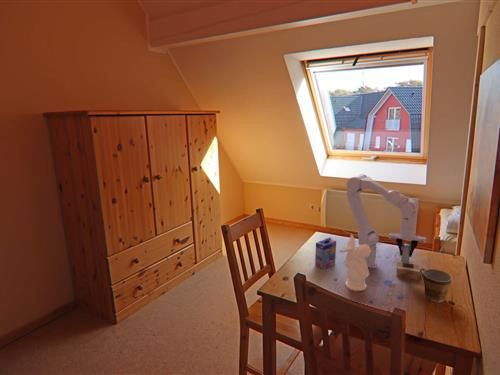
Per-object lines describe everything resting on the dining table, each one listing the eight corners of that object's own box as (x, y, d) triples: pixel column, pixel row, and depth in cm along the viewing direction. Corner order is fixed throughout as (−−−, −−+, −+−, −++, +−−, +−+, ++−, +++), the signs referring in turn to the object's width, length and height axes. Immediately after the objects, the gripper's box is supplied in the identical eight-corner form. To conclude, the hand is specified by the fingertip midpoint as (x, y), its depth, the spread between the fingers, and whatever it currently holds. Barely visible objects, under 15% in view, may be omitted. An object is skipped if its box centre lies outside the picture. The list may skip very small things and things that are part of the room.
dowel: (400, 262, 141) (402, 245, 140) (401, 259, 144) (402, 243, 142) (408, 264, 140) (410, 247, 138) (409, 261, 143) (410, 244, 141)
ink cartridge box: (323, 269, 151) (324, 241, 148) (314, 265, 156) (314, 238, 152) (336, 263, 157) (337, 236, 154) (327, 259, 162) (327, 233, 158)
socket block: (396, 276, 143) (397, 268, 142) (396, 267, 151) (397, 259, 150) (419, 280, 140) (419, 271, 139) (417, 270, 148) (418, 262, 147)
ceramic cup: (455, 302, 123) (458, 278, 121) (434, 307, 120) (437, 283, 118) (428, 285, 135) (430, 264, 133) (409, 289, 132) (411, 267, 130)
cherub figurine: (372, 291, 132) (375, 242, 127) (344, 295, 130) (347, 246, 125) (356, 277, 144) (359, 231, 138) (331, 280, 141) (333, 234, 136)
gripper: (389, 227, 138) (387, 256, 141) (427, 231, 132) (424, 261, 135) (390, 222, 144) (388, 250, 147) (426, 226, 138) (423, 255, 141)
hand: (405, 255), depth 142 cm, fingers closed on dowel, 3 cm apart
